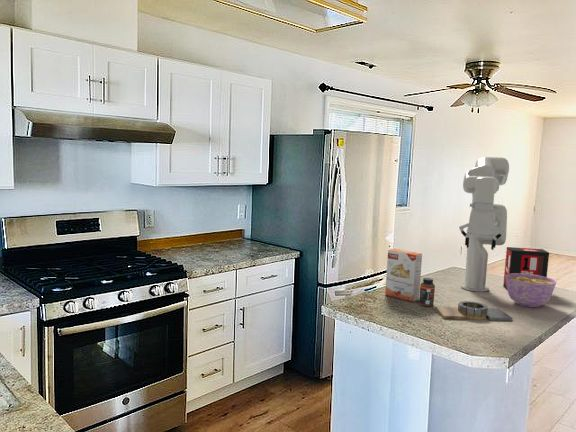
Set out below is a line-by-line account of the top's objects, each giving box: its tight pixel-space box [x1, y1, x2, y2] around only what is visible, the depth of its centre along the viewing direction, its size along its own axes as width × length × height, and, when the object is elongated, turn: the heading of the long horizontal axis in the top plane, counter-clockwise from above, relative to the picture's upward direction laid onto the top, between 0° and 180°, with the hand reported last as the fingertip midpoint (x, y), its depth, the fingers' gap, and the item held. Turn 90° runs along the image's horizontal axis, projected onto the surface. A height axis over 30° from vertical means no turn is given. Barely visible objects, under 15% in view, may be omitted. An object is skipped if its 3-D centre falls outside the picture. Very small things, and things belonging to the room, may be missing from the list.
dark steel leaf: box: [457, 300, 513, 322], centre depth 197 cm, size 19×12×4 cm, turn 91°
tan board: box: [434, 306, 487, 321], centre depth 197 cm, size 19×12×2 cm, turn 91°
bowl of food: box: [505, 273, 557, 308], centre depth 213 cm, size 20×20×12 cm
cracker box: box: [385, 248, 423, 303], centre depth 217 cm, size 14×6×21 cm, turn 48°
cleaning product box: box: [502, 246, 550, 292], centre depth 237 cm, size 16×9×20 cm, turn 81°
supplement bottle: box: [418, 277, 436, 307], centre depth 208 cm, size 6×6×11 cm
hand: (479, 248), depth 203 cm, fingers open, 9 cm apart
